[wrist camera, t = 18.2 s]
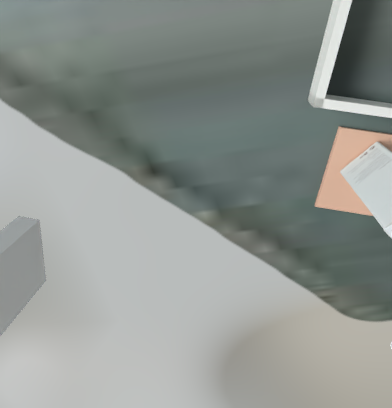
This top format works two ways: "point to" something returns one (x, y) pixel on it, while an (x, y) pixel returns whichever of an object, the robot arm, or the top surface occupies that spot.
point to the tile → (339, 158)
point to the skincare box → (373, 182)
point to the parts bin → (325, 69)
